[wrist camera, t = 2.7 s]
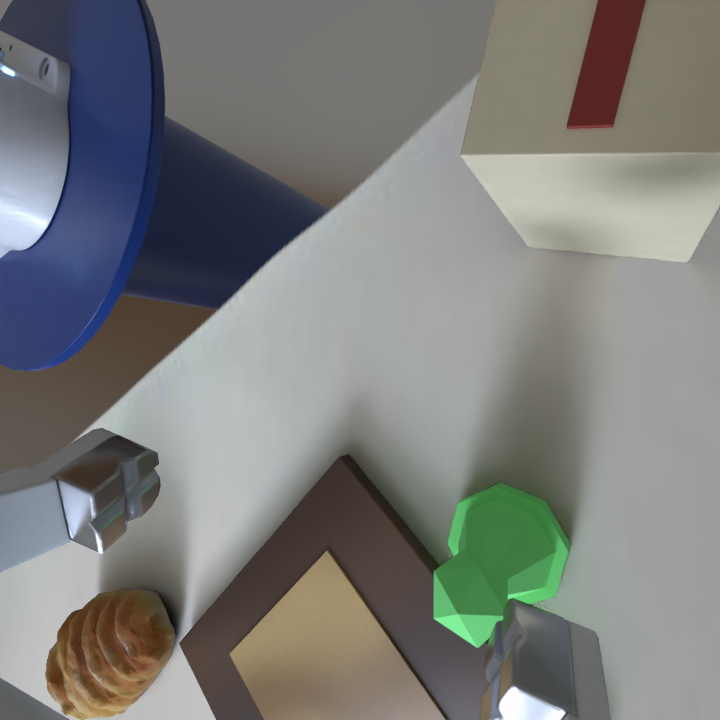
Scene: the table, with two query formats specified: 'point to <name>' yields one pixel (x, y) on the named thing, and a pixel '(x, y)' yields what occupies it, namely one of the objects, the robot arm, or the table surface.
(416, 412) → the table surface
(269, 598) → the brown board
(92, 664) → the pastry
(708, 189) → the letter block
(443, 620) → the game piece
